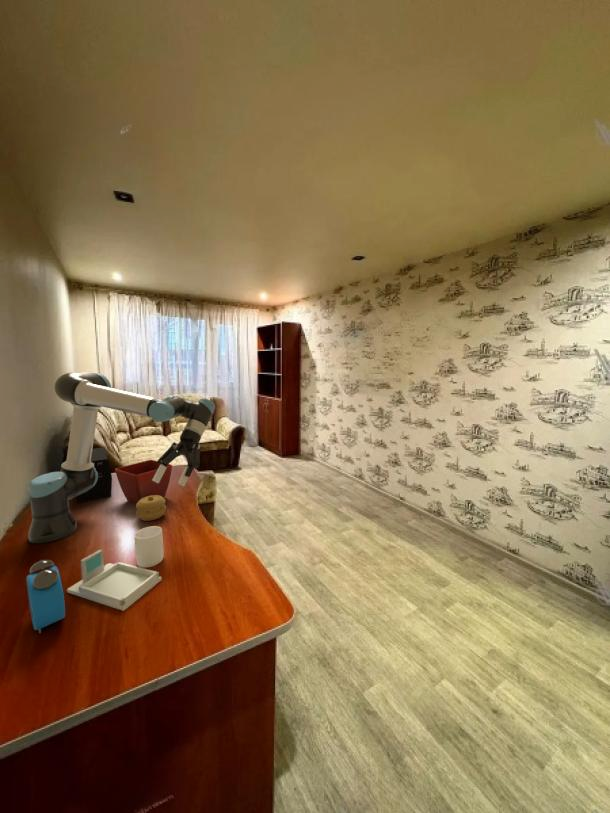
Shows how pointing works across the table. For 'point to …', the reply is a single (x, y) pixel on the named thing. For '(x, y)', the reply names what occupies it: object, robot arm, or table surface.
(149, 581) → the dock
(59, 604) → the alarm clock
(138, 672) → the table surface
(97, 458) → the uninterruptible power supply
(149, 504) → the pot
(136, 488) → the plant pot
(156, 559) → the cup
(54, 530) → the robot arm
